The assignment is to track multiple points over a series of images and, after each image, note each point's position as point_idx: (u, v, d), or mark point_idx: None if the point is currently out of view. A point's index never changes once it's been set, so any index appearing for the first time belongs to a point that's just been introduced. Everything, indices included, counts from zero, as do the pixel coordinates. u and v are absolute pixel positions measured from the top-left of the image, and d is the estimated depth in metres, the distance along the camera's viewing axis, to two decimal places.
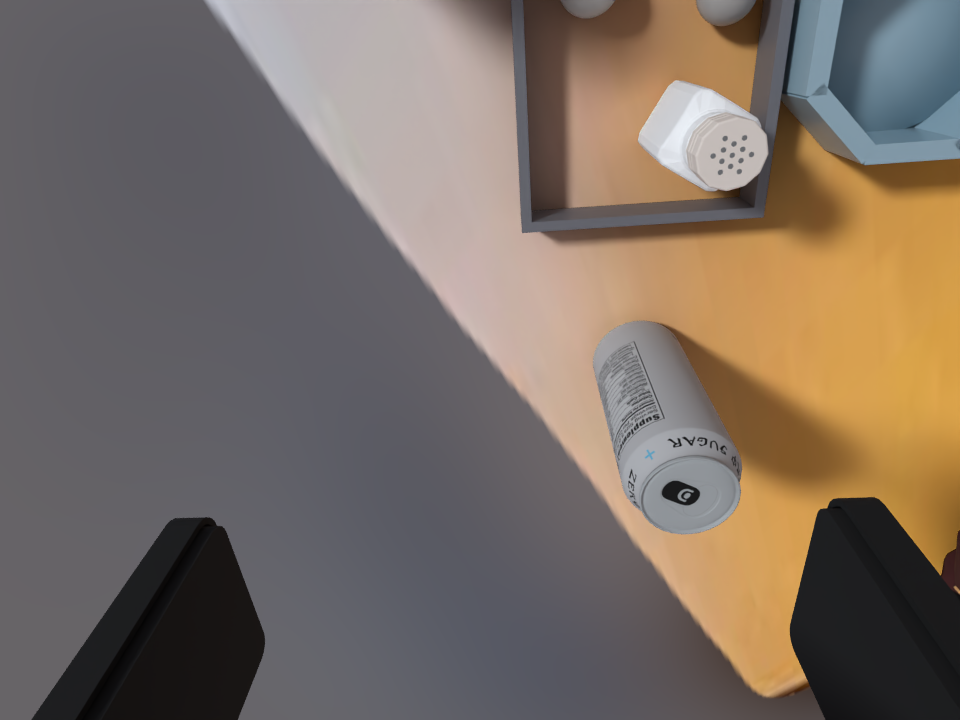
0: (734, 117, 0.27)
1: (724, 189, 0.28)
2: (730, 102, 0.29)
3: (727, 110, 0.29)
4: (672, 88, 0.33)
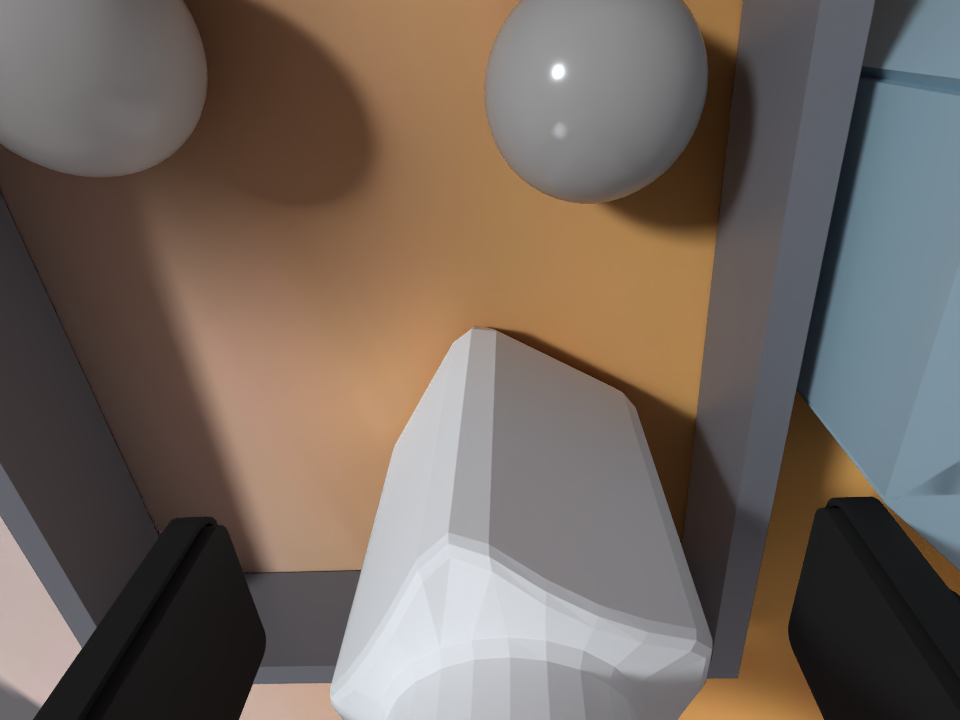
0: None
1: None
2: (570, 608, 0.07)
3: (556, 645, 0.07)
4: (446, 374, 0.10)
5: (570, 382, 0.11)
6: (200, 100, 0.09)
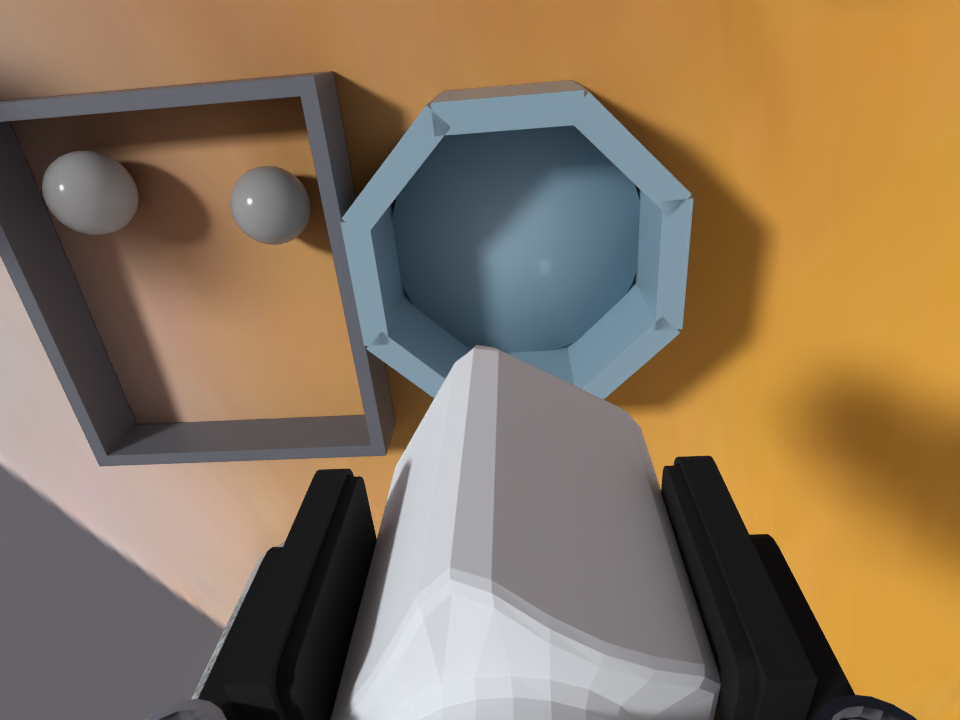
0: None
1: None
2: (575, 645, 0.06)
3: (560, 684, 0.06)
4: (448, 395, 0.10)
5: (574, 403, 0.11)
6: (134, 207, 0.24)
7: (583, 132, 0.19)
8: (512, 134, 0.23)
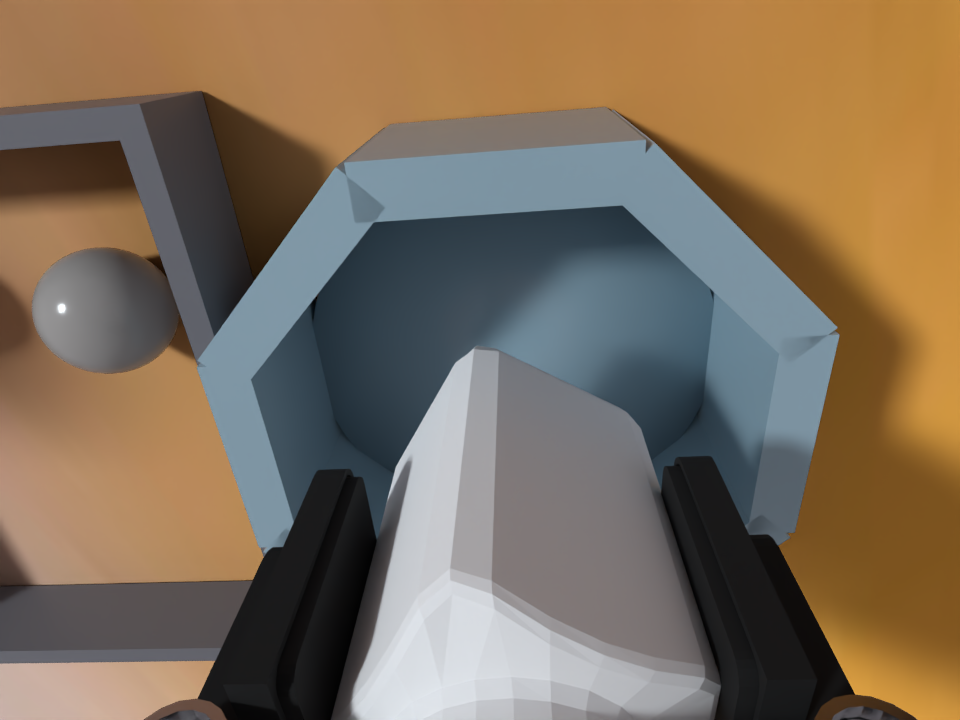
0: None
1: None
2: (575, 646, 0.06)
3: (561, 686, 0.06)
4: (448, 396, 0.10)
5: (574, 403, 0.11)
6: None
7: (640, 218, 0.10)
8: None
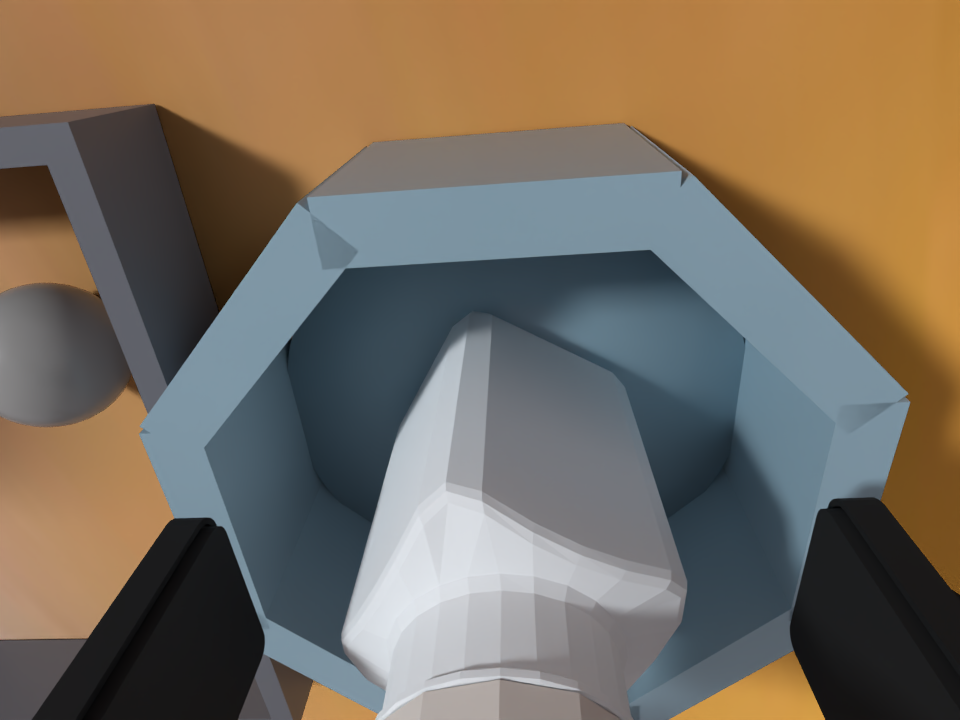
0: None
1: None
2: (555, 547, 0.07)
3: (543, 580, 0.07)
4: (446, 353, 0.11)
5: (562, 361, 0.12)
6: None
7: (672, 265, 0.08)
8: None
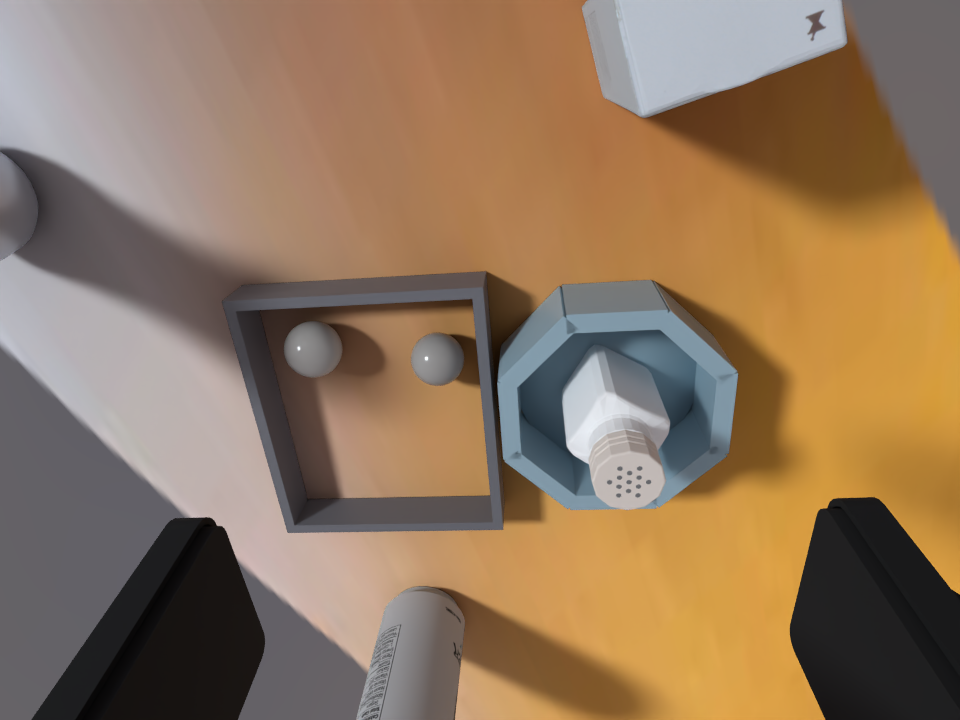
0: (627, 450, 0.26)
1: (624, 509, 0.27)
2: (634, 407, 0.29)
3: (631, 415, 0.29)
4: (589, 359, 0.33)
5: (628, 362, 0.33)
6: (340, 357, 0.35)
7: (665, 333, 0.30)
8: None
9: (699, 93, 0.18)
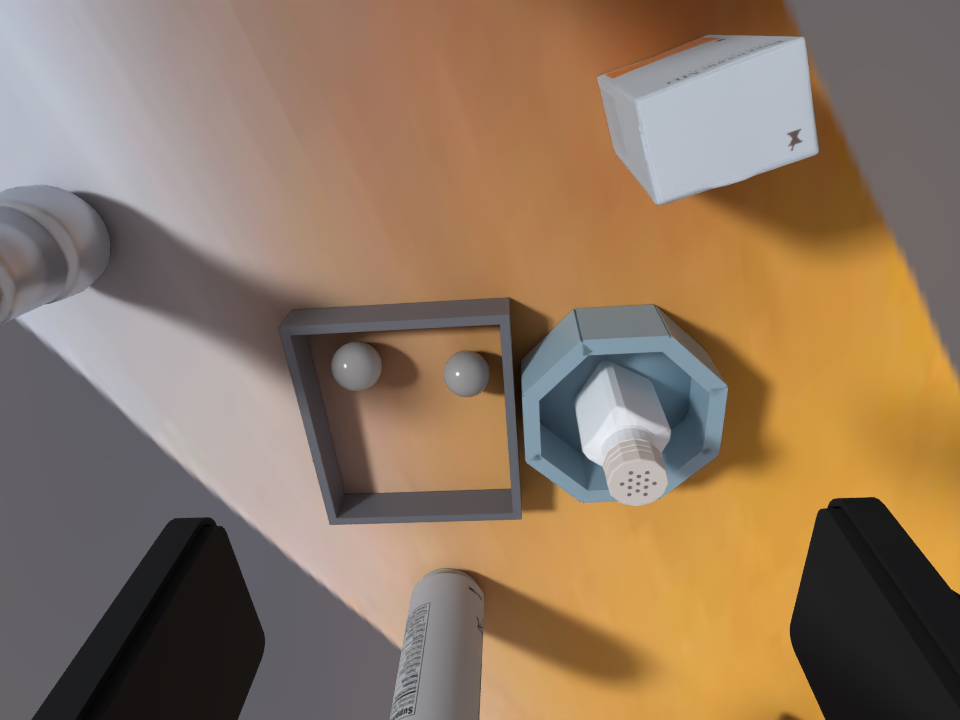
0: (637, 457, 0.31)
1: (634, 505, 0.33)
2: (641, 418, 0.34)
3: (639, 426, 0.34)
4: (599, 374, 0.38)
5: (633, 376, 0.38)
6: (380, 373, 0.39)
7: (667, 355, 0.35)
8: None
9: (703, 188, 0.23)
